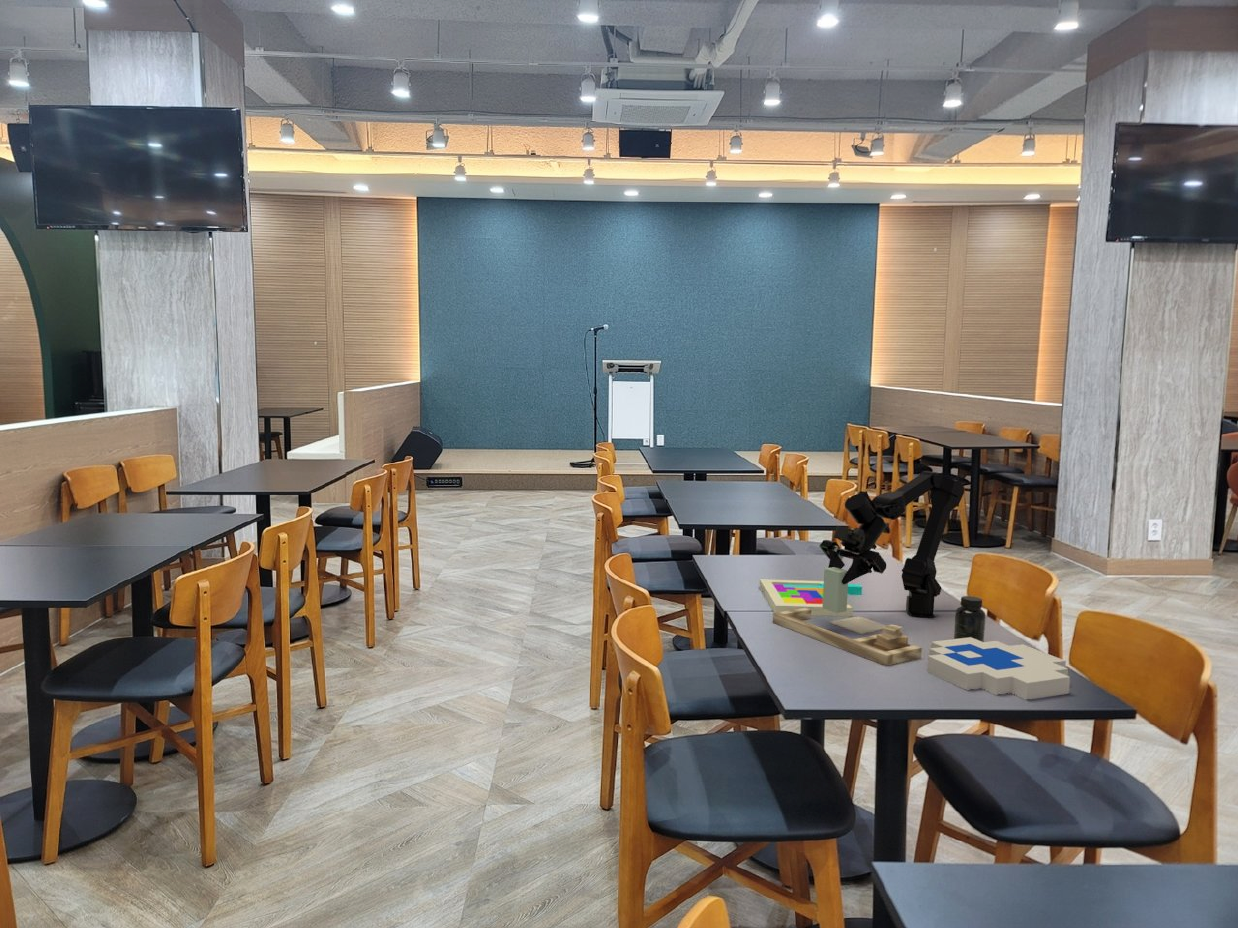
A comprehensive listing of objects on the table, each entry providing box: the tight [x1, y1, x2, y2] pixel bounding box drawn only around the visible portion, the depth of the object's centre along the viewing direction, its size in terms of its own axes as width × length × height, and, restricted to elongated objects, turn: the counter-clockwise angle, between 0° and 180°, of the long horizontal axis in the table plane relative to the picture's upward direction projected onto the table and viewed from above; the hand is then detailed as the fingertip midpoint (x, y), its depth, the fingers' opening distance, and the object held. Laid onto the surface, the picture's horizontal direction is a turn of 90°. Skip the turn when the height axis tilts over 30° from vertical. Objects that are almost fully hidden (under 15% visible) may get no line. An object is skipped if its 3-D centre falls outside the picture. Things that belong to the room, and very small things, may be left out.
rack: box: [772, 608, 922, 667], centre depth 211 cm, size 12×38×2 cm, turn 32°
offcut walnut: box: [873, 642, 911, 651], centre depth 202 cm, size 7×5×2 cm
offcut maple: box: [881, 624, 904, 639], centre depth 202 cm, size 4×3×2 cm
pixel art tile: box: [926, 637, 1071, 700], centre depth 189 cm, size 28×4×28 cm
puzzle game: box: [759, 578, 863, 618], centre depth 247 cm, size 30×3×30 cm
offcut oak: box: [876, 633, 909, 648], centre depth 202 cm, size 6×4×2 cm, turn 112°
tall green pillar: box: [822, 567, 849, 613], centre depth 217 cm, size 4×5×10 cm
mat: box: [829, 615, 887, 635], centre depth 223 cm, size 11×11×1 cm
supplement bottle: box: [953, 595, 987, 642], centre depth 208 cm, size 7×7×12 cm
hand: (834, 580), depth 217 cm, fingers closed on tall green pillar, 5 cm apart
